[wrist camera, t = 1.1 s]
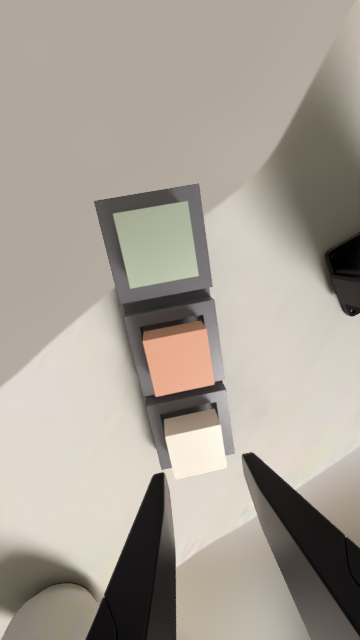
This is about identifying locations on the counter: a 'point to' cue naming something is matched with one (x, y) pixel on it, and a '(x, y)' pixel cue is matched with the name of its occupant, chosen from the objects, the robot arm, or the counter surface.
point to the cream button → (195, 443)
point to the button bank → (168, 314)
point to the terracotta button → (178, 358)
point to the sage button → (157, 244)
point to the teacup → (54, 615)
